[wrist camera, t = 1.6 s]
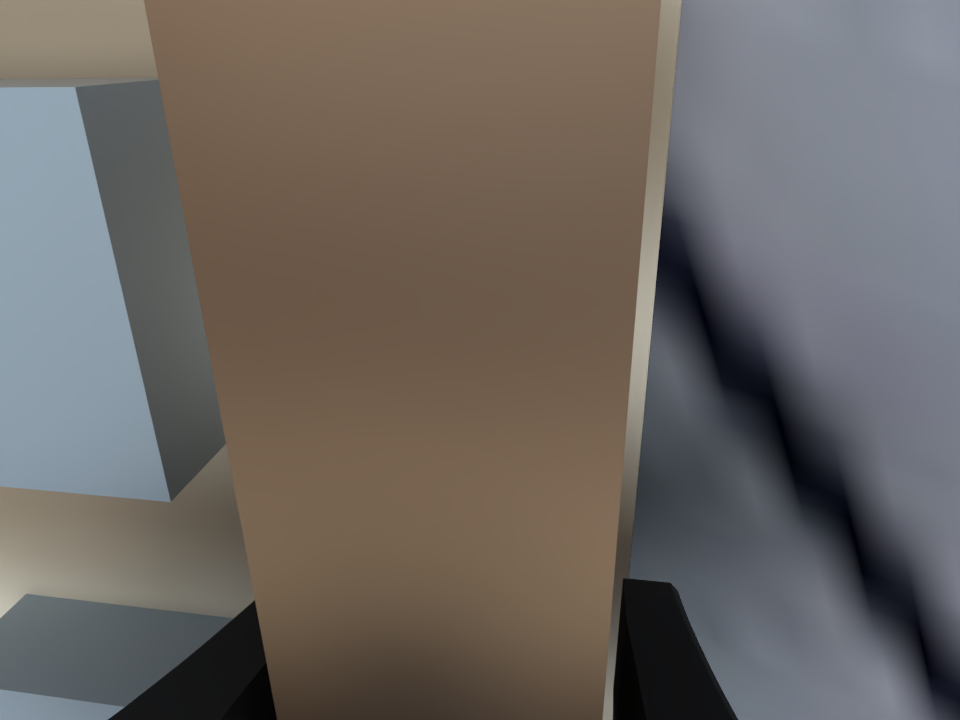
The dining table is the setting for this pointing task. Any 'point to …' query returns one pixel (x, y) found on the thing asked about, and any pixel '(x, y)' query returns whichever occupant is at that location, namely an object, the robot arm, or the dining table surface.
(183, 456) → the near tile
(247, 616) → the robot arm
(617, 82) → the scraper bar
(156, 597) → the birch plate
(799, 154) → the dining table surface
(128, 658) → the far tile
